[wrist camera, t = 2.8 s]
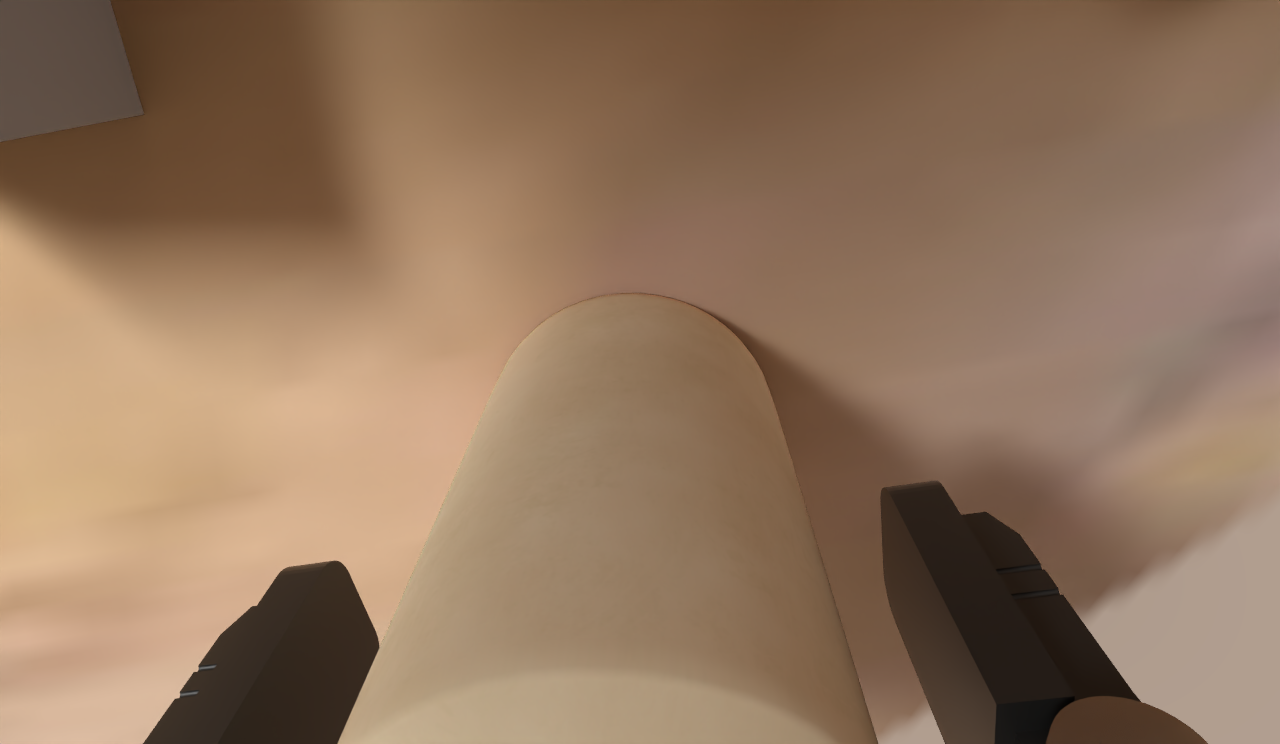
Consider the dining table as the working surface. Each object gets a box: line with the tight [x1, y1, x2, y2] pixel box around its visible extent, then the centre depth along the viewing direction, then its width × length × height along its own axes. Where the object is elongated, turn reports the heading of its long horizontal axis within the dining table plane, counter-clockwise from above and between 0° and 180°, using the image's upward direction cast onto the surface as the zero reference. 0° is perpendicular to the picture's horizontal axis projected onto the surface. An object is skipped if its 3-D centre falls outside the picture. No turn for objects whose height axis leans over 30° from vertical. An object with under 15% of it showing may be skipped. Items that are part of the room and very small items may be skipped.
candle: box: [338, 293, 878, 744], centre depth 10 cm, size 6×6×10 cm
